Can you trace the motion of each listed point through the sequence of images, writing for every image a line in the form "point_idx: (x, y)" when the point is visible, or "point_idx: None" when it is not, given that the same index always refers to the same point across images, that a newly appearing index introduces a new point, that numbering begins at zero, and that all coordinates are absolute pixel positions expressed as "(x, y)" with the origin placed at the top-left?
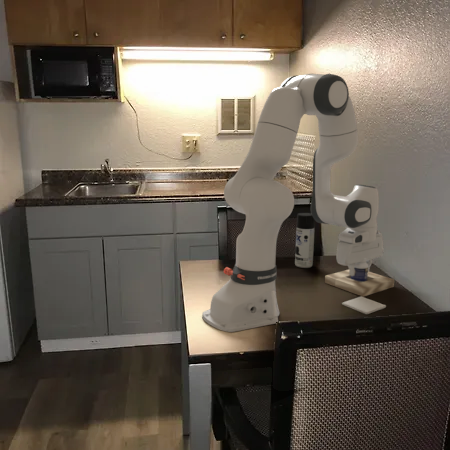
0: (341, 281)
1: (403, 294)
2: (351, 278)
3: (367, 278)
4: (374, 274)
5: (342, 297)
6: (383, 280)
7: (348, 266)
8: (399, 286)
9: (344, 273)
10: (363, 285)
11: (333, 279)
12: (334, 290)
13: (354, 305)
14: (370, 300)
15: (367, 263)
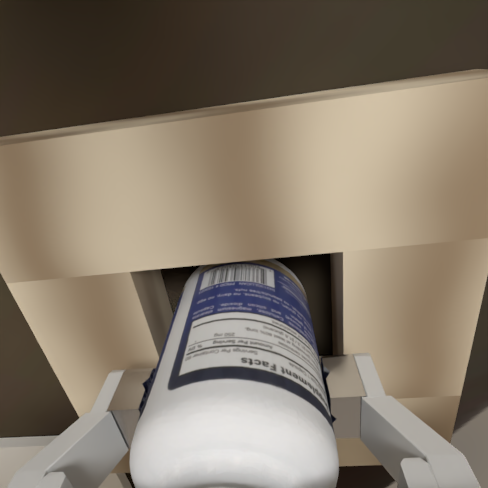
0: (38, 338)
1: (350, 481)
2: (172, 320)
3: (339, 334)
4: (442, 345)
5: (6, 390)
6: (360, 445)
7: (37, 466)
8: (458, 422)
9: (197, 197)
10: None
11: (1, 259)
12: (5, 302)
13: (2, 483)
14: (112, 482)
15: (395, 452)
